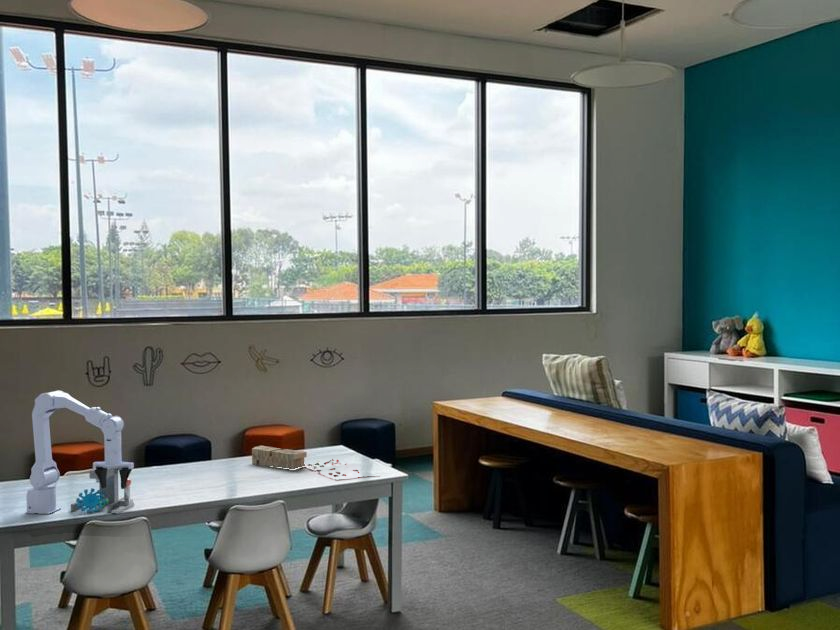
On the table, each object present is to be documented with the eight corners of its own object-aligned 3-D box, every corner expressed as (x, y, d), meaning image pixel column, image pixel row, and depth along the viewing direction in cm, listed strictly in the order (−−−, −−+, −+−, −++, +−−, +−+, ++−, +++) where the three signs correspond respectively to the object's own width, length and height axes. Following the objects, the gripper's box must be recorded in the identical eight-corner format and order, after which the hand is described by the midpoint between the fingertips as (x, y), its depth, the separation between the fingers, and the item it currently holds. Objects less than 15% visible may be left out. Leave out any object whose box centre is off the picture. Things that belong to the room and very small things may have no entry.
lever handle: (121, 504, 307) (121, 479, 307) (125, 502, 310) (124, 477, 310) (129, 505, 307) (128, 479, 306) (132, 503, 310) (132, 477, 309)
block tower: (250, 466, 385) (294, 471, 368) (249, 448, 385) (294, 452, 368) (262, 463, 392) (307, 468, 374) (261, 445, 392) (306, 450, 374)
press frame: (68, 512, 301) (68, 474, 301) (92, 500, 317) (91, 464, 317) (117, 513, 299) (117, 475, 298) (138, 502, 315) (138, 465, 315)
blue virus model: (74, 510, 298) (78, 486, 304) (73, 519, 302) (78, 495, 308) (106, 512, 301) (110, 488, 308) (105, 520, 305) (109, 496, 312)
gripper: (88, 452, 295) (88, 490, 295) (126, 453, 293) (127, 491, 293) (98, 448, 302) (98, 485, 302) (136, 449, 300) (136, 486, 300)
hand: (113, 488), depth 298 cm, fingers open, 7 cm apart
